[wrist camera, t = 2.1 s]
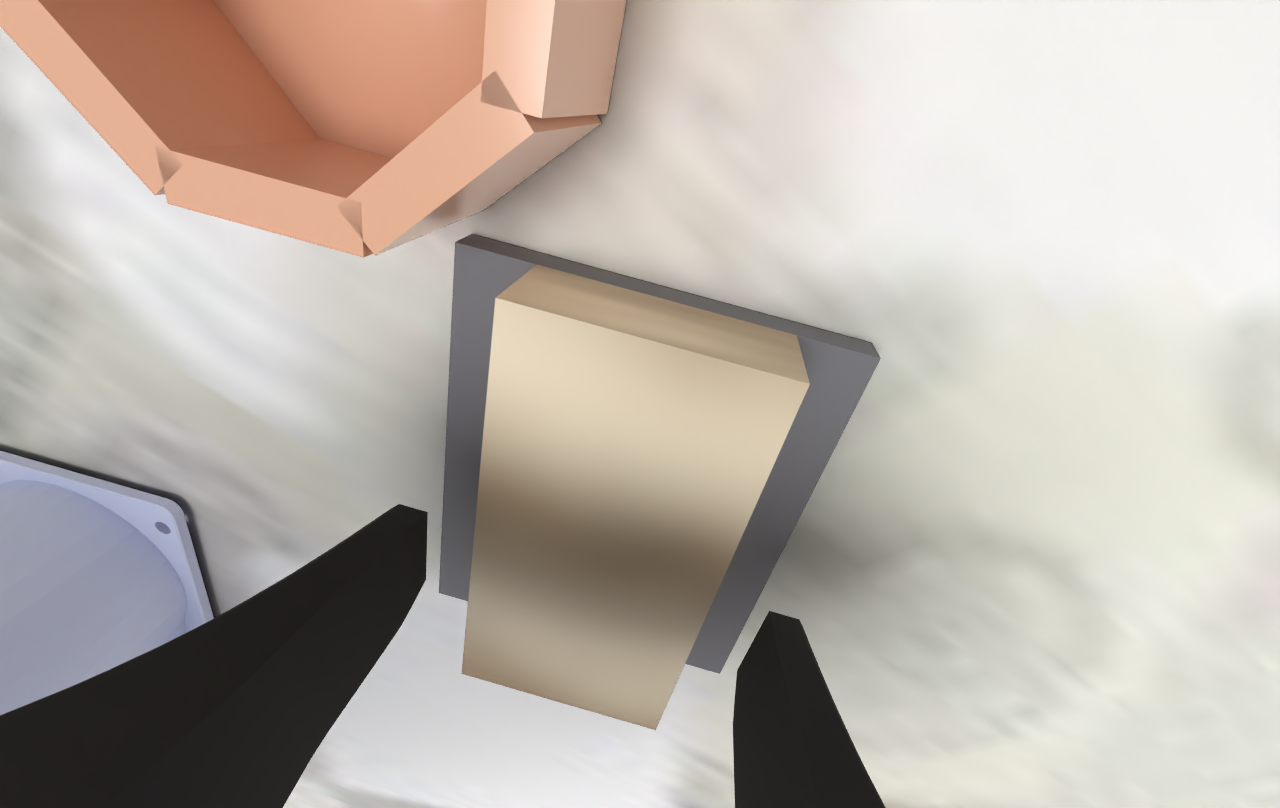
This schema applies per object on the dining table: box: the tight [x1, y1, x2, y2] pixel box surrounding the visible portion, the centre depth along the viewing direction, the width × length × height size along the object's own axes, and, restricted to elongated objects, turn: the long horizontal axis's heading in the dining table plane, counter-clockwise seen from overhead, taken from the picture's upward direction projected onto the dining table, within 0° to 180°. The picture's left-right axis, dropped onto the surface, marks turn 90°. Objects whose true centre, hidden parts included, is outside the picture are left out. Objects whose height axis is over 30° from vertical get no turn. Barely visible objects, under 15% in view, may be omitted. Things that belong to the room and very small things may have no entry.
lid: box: [462, 265, 810, 730], centre depth 13 cm, size 11×6×2 cm, turn 167°
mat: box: [439, 234, 880, 673], centre depth 14 cm, size 11×9×1 cm
